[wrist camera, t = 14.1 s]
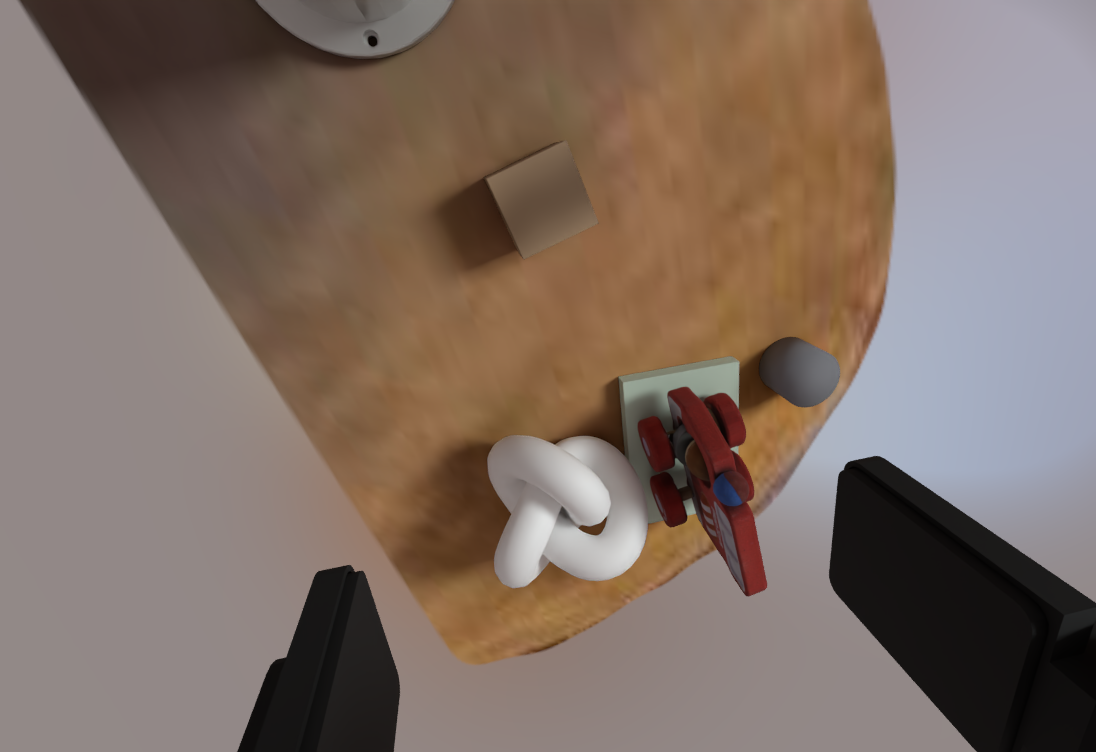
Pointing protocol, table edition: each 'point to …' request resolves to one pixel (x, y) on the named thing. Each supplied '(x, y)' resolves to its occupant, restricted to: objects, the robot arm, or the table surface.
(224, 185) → the table surface
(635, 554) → the white knot
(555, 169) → the walnut block
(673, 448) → the red wheeled piece
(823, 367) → the grey rounded pebble
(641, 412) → the board
